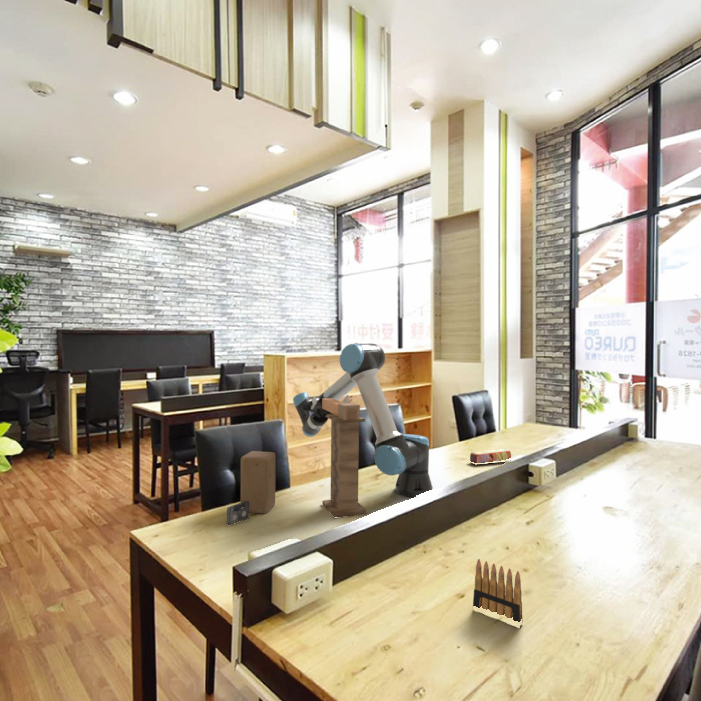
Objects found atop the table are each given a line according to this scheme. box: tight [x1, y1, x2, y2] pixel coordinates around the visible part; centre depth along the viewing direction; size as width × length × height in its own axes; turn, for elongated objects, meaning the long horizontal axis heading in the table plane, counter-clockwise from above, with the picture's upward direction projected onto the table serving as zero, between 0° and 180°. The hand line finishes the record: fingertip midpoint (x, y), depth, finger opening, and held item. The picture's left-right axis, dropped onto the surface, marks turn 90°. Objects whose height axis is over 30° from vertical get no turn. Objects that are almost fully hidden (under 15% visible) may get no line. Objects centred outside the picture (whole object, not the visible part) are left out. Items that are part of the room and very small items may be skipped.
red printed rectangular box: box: [469, 448, 512, 463], centre depth 233 cm, size 21×7×7 cm, turn 109°
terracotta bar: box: [322, 398, 361, 420], centre depth 173 cm, size 28×6×5 cm, turn 21°
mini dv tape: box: [226, 501, 250, 526], centre depth 154 cm, size 8×2×6 cm, turn 145°
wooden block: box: [240, 450, 276, 515], centre depth 166 cm, size 10×10×20 cm
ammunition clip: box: [472, 558, 523, 622], centre depth 102 cm, size 11×2×12 cm, turn 52°
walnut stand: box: [321, 414, 368, 518], centre depth 166 cm, size 14×12×34 cm
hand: (332, 398), depth 180 cm, fingers open, 13 cm apart
